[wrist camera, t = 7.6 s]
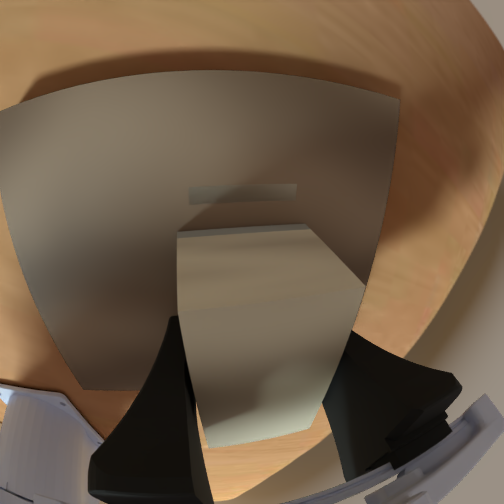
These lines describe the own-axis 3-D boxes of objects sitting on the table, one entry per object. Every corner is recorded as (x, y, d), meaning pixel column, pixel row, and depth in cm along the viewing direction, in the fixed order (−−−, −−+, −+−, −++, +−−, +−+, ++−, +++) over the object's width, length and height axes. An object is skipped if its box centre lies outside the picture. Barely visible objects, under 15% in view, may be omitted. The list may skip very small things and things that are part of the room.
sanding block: (282, 365, 14) (309, 428, 10) (197, 378, 13) (208, 448, 9) (304, 223, 10) (365, 286, 6) (176, 231, 9) (177, 311, 6)
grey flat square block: (330, 343, 16) (340, 360, 15) (87, 369, 13) (83, 389, 12) (377, 98, 10) (400, 99, 8) (13, 111, 6) (-8, 114, 5)
